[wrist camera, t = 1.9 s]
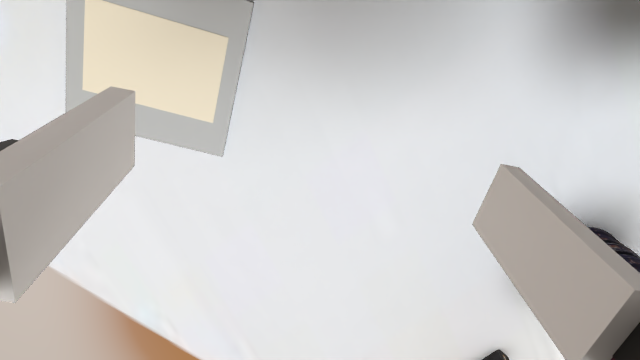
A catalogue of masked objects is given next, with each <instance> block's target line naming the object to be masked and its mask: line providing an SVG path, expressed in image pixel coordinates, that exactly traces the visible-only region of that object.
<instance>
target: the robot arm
mask: <svg viewBox="0 0 640 360" xmlns="http://www.w3.org/2000/svg"><path fill="white" fill-rule="evenodd" d="M134 163H135V91H132V90H127V89H122V88H117V87H112V86H111V87H109V88H107V89H105V90H104V91H102V92H100V93H99V94H97V95H95V96H93V97H92V98H90V99H88V100H87V101H85V102H83V103H82V104H80V105H78V106H76V107H75V108H73V109H71V110H70V111H68V112H66V113H65V114H63V115H61V116H59V117H58V118H56V119H54V120H53V121H51V122H49V123H48V124H46V125H44V126H42V127H41V128H39V129H37V130H36V131H34V132H32V133H31V134H29V135H27V136H25V137H24V138H22V139H20V140H13V139H11V140H7V141H3V142H0V301H4V302H12V303H16V302H17V301H18V300H19V298H20V297H21V296H22V295H23V294H24V293H25V291H26V290H27V289H28V288H29V287H30V286H31V285H32V283H33V282H34V281H35V280H36V279H37V278H38V277H39V275H40V274H41V273H42V272H43V270H45V268H46V267H47V266H48V265H49V264H50V263H51V262H52V260H53V259H54V258H55V257H56V256H57V255H58V254H59V252H60V251H61V250H62V249H63V248H64V247H65V245H66V244H67V243H68V242H69V241H70V240H71V239H72V237H73V236H74V235H75V234H76V233H77V232H78V230H79V229H80V228H81V227H82V226H83V225H84V224H85V222H86V221H87V220H88V219H89V218H90V217H91V215H92V214H93V213H94V212H95V211H96V210H97V209H98V207H99V206H100V205H101V204H102V203H103V202H104V200H105V199H106V198H107V197H108V196H109V195H110V194H111V192H112V191H113V190H114V189H115V188H116V187H117V185H118V184H119V183H120V182H121V181H122V180H123V179H124V177H125V176H126V175H127V174H128V173H129V172H130V170H131V169H132V168H133V167H134ZM472 225H473V226H474V228H475V229H476V231H477V232H478V234H479V235H480V237H481V238H482V240H483V241H484V242H485V244H486V245H487V247H488V248H489V250H490V251H491V253H492V254H493V255H494V257H495V258H496V260H497V261H498V263H499V264H500V266H501V267H502V268H503V270H504V271H505V273H506V274H507V276H508V277H509V279H510V280H511V282H512V283H513V284H514V286H515V287H516V289H517V290H518V292H519V293H520V295H521V296H522V297H523V299H524V300H525V302H526V303H527V305H528V306H529V308H530V309H531V311H532V312H533V313H534V315H535V316H536V318H537V319H538V321H539V322H540V324H541V325H542V326H543V328H544V329H545V331H546V332H547V334H548V335H549V337H550V338H551V339H552V341H553V342H554V344H555V345H556V347H557V348H558V350H559V351H560V353H561V354H562V355H563V357H564V358H565V360H611V359H612V357H614V358H615V360H640V273H639V272H638V271H637V270H636V269H634V268H633V267H632V266H631V265H630V264H629V263H628V262H626V261H625V260H624V259H623V258H622V257H621V256H620V255H618V254H617V253H616V252H615V251H614V250H613V249H612V248H610V247H609V246H608V245H607V244H606V243H605V242H604V241H603V240H601V239H600V238H599V237H598V236H597V235H596V234H595V233H593V232H592V231H591V230H590V229H589V228H588V227H587V226H585V225H584V224H583V223H582V222H581V221H580V220H579V219H577V218H576V217H575V216H574V215H573V214H572V213H571V212H569V211H568V210H567V209H566V208H565V207H564V206H563V205H561V204H560V203H559V202H558V201H557V200H556V199H555V198H554V197H552V196H551V195H550V194H549V193H548V192H547V191H546V190H544V189H543V188H542V187H541V186H540V185H539V184H538V183H536V182H535V181H534V180H533V179H532V178H531V177H530V176H528V175H527V174H526V173H525V172H524V171H523V170H522V169H520V168H519V167H514V166H509V165H504V164H501V165H500V167H499V169H498V171H497V173H496V175H495V178H494V180H493V182H492V184H491V186H490V188H489V190H488V192H487V194H486V196H485V198H484V201H483V203H482V205H481V207H480V209H479V211H478V213H477V215H476V217H475V219H474V222H473V224H472Z"/></svg>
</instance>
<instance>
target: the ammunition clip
mask: <svg viewBox="0 0 640 360" xmlns="http://www.w3.org/2000/svg"><path fill="white" fill-rule="evenodd" d="M482 360H509V358H508V357H507V356H506V355H505V354H504V353H502V352H501V351H500V350H497V351H495V352H493V353H492V354H490V355H489V356H487V357H485V358H484V359H482Z"/></svg>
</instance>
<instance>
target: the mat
mask: <svg viewBox="0 0 640 360" xmlns="http://www.w3.org/2000/svg"><path fill="white" fill-rule="evenodd" d="M253 5H254V2H251V1H247V0H66V112H68V111H70V110H71V109H73V108H75V107H76V106H78V105H80V104H82V103H83V102H85V101H87V100H88V99H90V98H92V97H93V96H95V95H97V94H99V93H100V92H102V91H104V90H105V89H107V88H109V87H111V86H112V87H117V88H122V89H127V90H132V91H135V136H138V137H142V138H146V139H150V140H155V141H159V142H163V143H167V144H171V145H175V146H179V147H184V148H188V149H192V150H196V151H200V152H204V153H208V154H212V155H217V156H221V157H222V156H223V153H224V148H225V143H226V138H227V133H228V128H229V123H230V118H231V114H232V109H233V104H234V99H235V94H236V89H237V84H238V79H239V74H240V69H241V64H242V59H243V55H244V50H245V45H246V40H247V35H248V30H249V25H250V20H251V15H252V10H253Z"/></svg>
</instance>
